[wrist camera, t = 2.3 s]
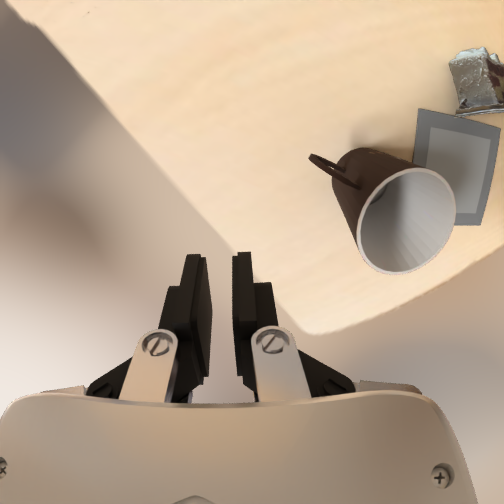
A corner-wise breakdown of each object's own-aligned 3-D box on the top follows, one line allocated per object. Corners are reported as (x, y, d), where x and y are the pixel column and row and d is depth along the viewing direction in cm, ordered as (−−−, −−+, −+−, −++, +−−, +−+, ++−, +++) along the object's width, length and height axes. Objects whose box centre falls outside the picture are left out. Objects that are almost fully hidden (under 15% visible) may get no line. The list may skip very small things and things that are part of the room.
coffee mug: (411, 189, 29) (465, 235, 21) (346, 233, 32) (382, 292, 23) (360, 93, 24) (418, 105, 15) (284, 143, 26) (309, 177, 18)
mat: (418, 108, 25) (419, 108, 24) (499, 128, 25) (500, 128, 25) (401, 225, 31) (402, 226, 31) (479, 224, 32) (480, 225, 32)
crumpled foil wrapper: (512, 54, 19) (511, 32, 12) (529, 111, 21) (536, 111, 14) (448, 64, 27) (421, 48, 20) (464, 117, 29) (444, 120, 22)
